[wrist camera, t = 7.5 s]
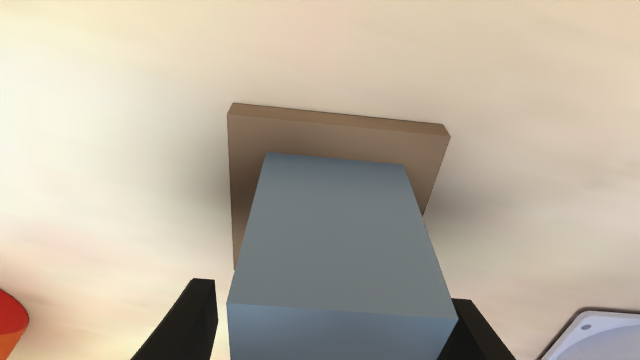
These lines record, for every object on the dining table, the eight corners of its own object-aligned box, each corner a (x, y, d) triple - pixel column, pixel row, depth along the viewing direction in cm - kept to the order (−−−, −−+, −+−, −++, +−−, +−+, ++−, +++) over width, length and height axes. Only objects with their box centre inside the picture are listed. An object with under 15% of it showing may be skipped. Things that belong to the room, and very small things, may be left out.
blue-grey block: (377, 259, 16) (404, 420, 11) (264, 251, 16) (234, 410, 11) (403, 164, 13) (458, 319, 8) (266, 152, 13) (226, 303, 8)
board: (395, 266, 18) (399, 282, 17) (238, 254, 18) (233, 269, 17) (442, 124, 14) (450, 136, 13) (233, 103, 13) (226, 113, 12)
